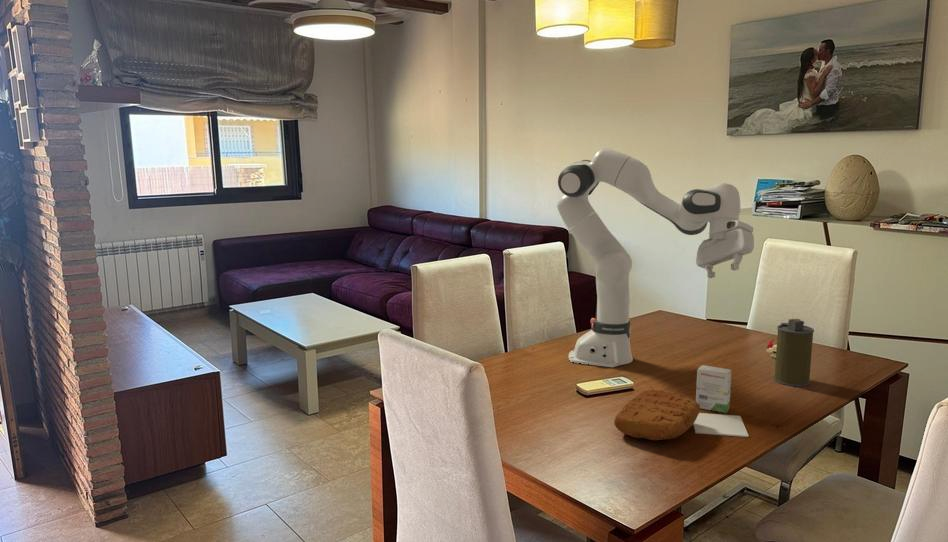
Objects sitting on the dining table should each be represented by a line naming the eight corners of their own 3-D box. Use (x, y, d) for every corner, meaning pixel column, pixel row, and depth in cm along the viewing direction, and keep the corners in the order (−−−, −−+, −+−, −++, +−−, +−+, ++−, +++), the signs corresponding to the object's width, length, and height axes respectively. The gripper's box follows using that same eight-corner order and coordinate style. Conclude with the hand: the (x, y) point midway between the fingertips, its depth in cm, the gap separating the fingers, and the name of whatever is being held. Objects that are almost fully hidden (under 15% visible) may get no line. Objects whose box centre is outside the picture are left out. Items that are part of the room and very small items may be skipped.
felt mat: (695, 433, 168) (695, 431, 168) (690, 413, 181) (690, 412, 181) (748, 437, 165) (748, 435, 165) (740, 417, 178) (740, 415, 178)
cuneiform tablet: (646, 410, 184) (646, 383, 182) (705, 425, 173) (707, 397, 171) (607, 436, 167) (608, 407, 166) (671, 455, 156) (672, 424, 155)
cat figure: (770, 345, 247) (763, 358, 226) (772, 323, 246) (765, 333, 225) (799, 349, 242) (795, 362, 221) (801, 326, 241) (797, 337, 220)
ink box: (730, 408, 184) (732, 368, 182) (726, 414, 180) (728, 373, 178) (699, 402, 189) (701, 363, 187) (695, 408, 185) (696, 368, 183)
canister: (817, 385, 201) (822, 323, 197) (787, 387, 199) (791, 325, 196) (794, 373, 211) (799, 314, 208) (765, 376, 210) (769, 316, 206)
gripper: (692, 239, 209) (690, 278, 204) (742, 219, 191) (741, 261, 186) (707, 245, 211) (705, 284, 206) (757, 225, 193) (757, 268, 188)
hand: (722, 273), depth 196 cm, fingers open, 8 cm apart
